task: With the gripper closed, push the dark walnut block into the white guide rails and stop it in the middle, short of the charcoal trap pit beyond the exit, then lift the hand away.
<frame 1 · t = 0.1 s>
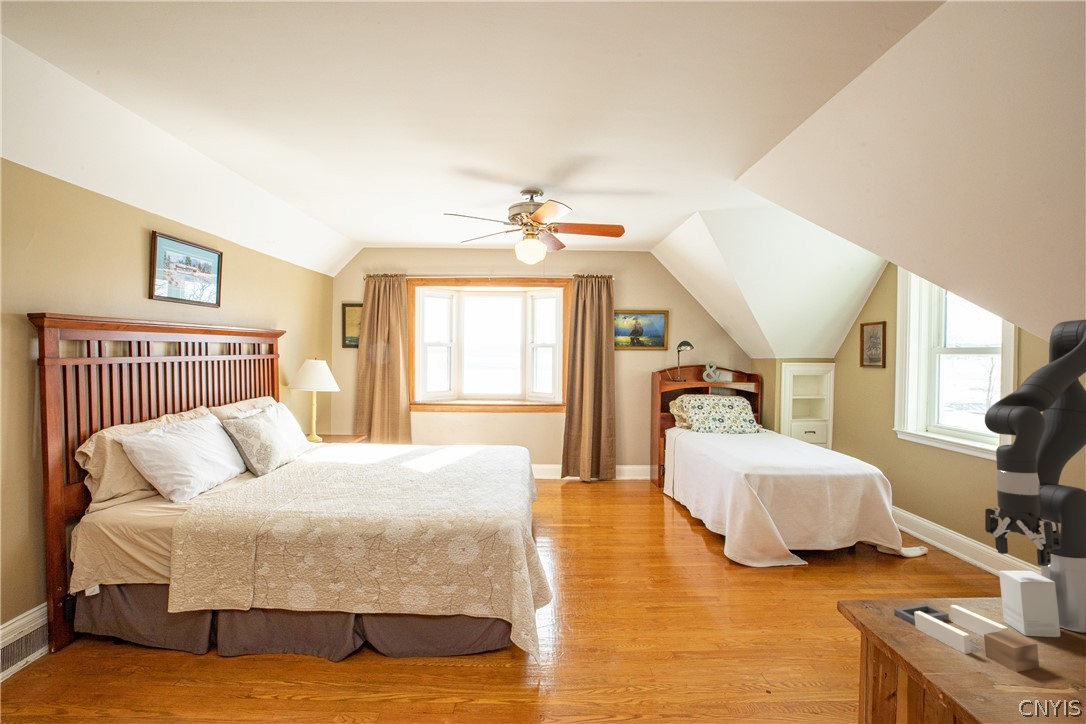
hand: (1022, 559, 119), 17 cm above the table, tool pointing down, fingers open, 8 cm apart
trap pit: (921, 617, 128), on the table
white guide rails: (960, 636, 118), on the table
walnut block: (1012, 662, 108), on the table
supplement box: (1031, 630, 120), on the table
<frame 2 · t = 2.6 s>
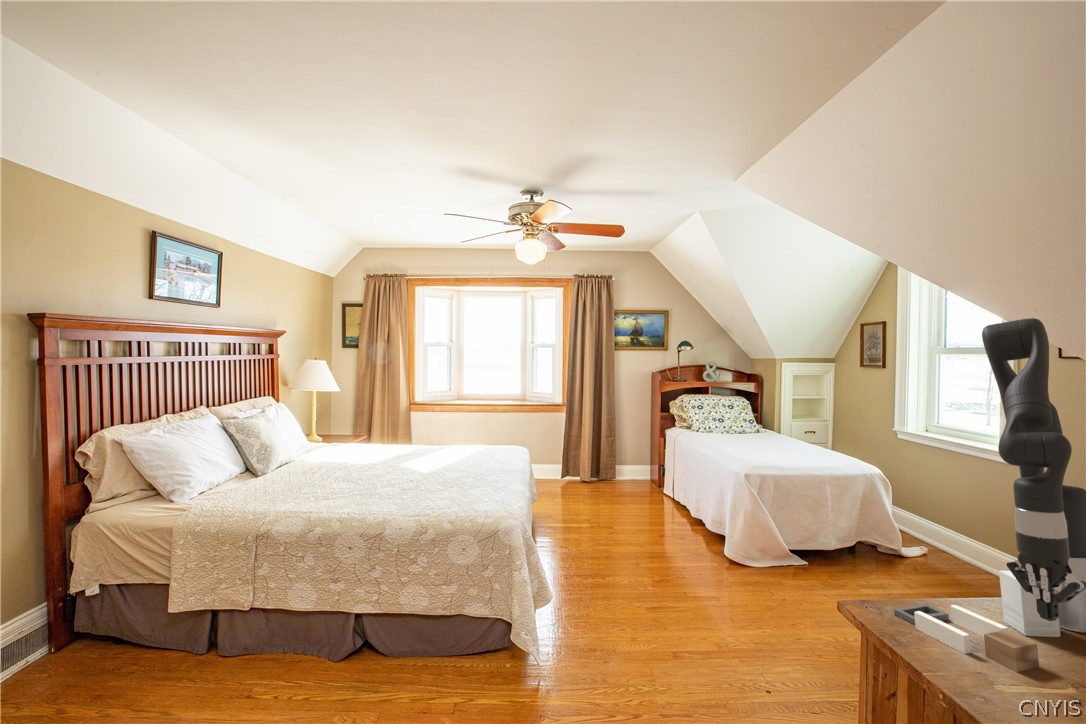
hand: (1048, 618, 100), 13 cm above the table, tool pointing down, fingers closed
nothing on the table moved.
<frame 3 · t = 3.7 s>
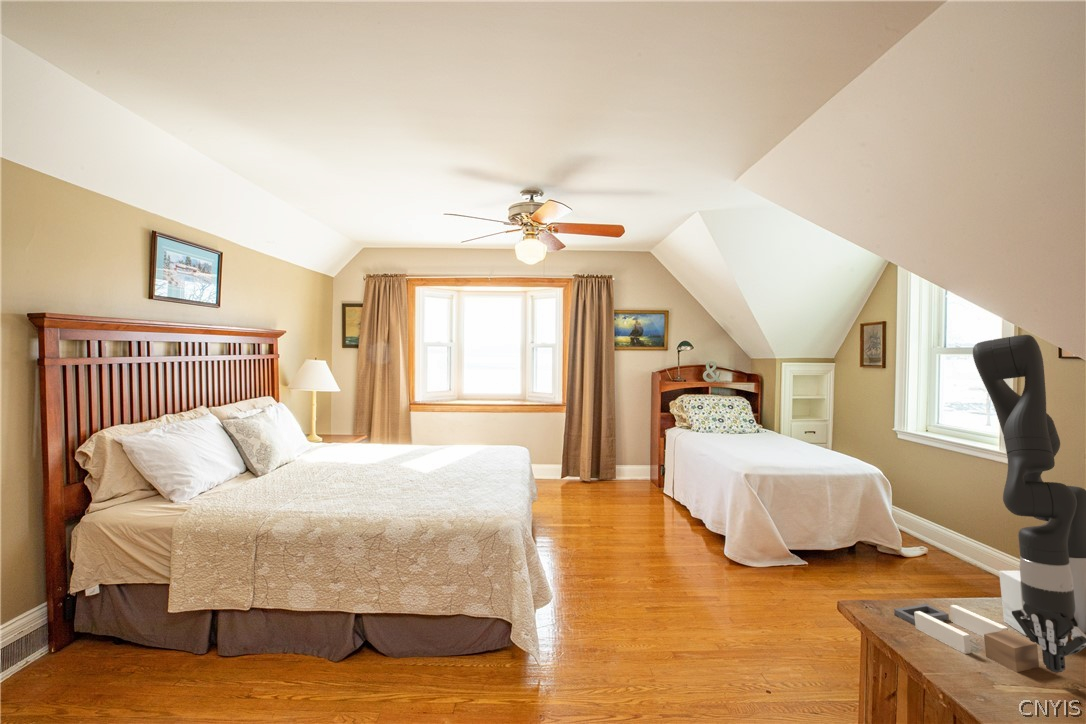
hand: (1054, 670, 100), 3 cm above the table, tool pointing down, fingers closed
nothing on the table moved.
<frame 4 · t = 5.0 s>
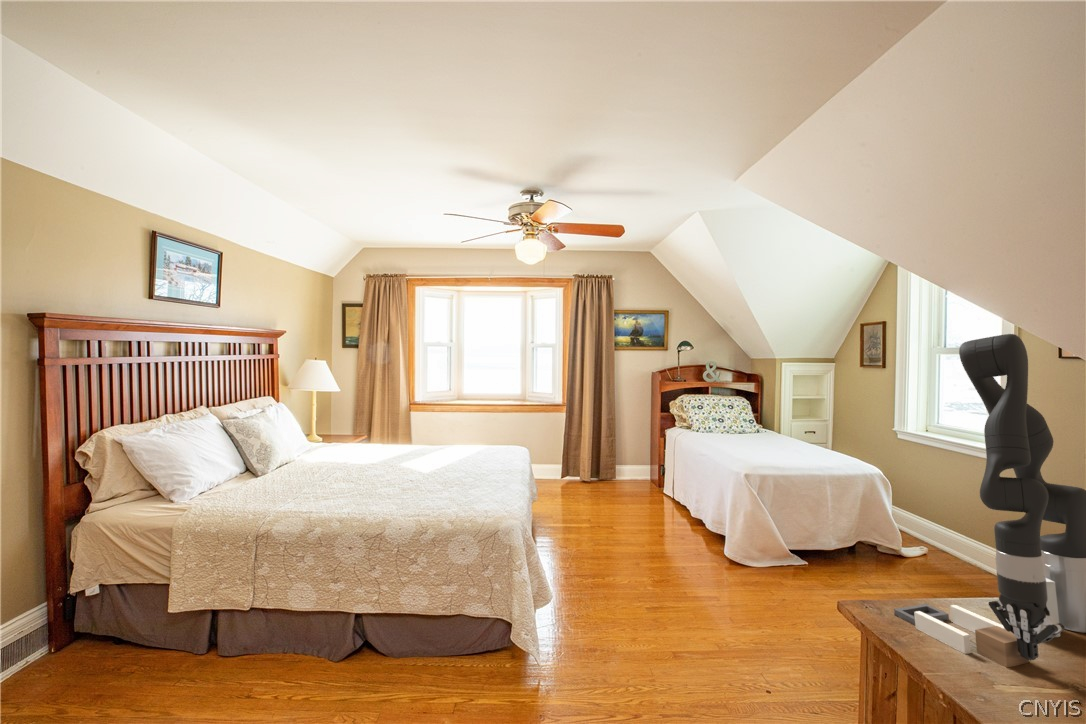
hand: (1028, 657, 104), 3 cm above the table, tool pointing down, fingers closed
walnut block: (1002, 657, 109), on the table, touching gripper
everything else where it was.
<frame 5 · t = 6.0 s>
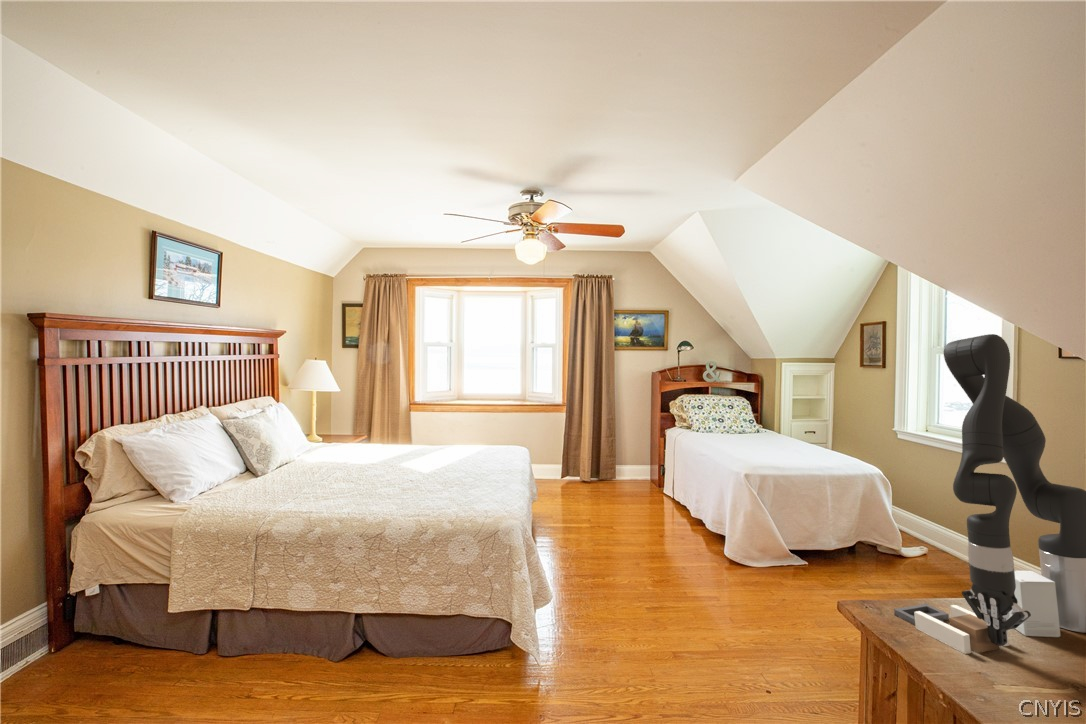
hand: (998, 643, 110), 3 cm above the table, tool pointing down, fingers closed
walnut block: (974, 644, 115), on the table, touching gripper
everything else where it was.
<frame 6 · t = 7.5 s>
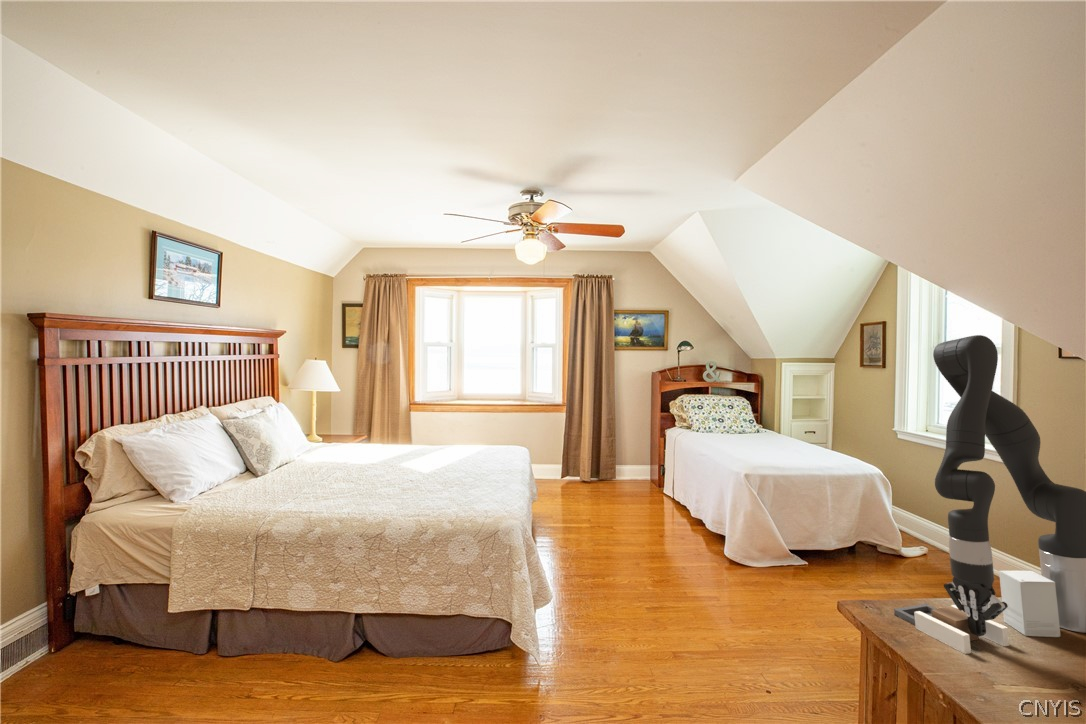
hand: (977, 634, 114), 3 cm above the table, tool pointing down, fingers closed
walnut block: (955, 634, 119), on the table, touching gripper
everything else where it was.
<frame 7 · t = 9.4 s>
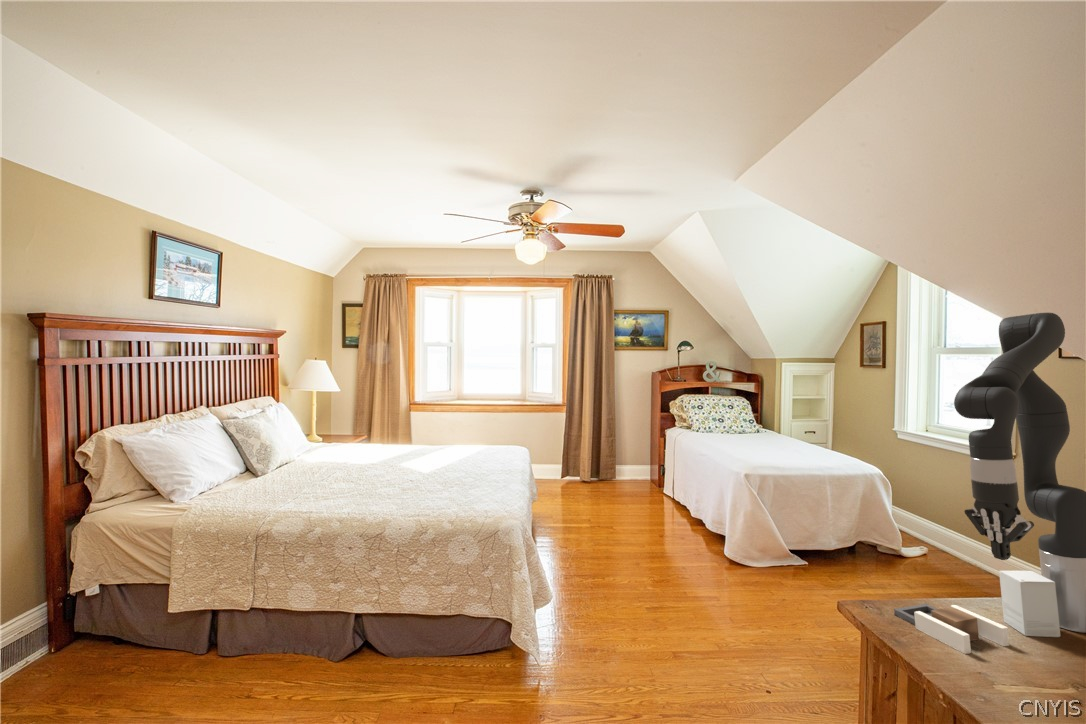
hand: (1001, 558, 109), 22 cm above the table, tool pointing down, fingers closed
walnut block: (955, 635, 119), on the table
everything else where it was.
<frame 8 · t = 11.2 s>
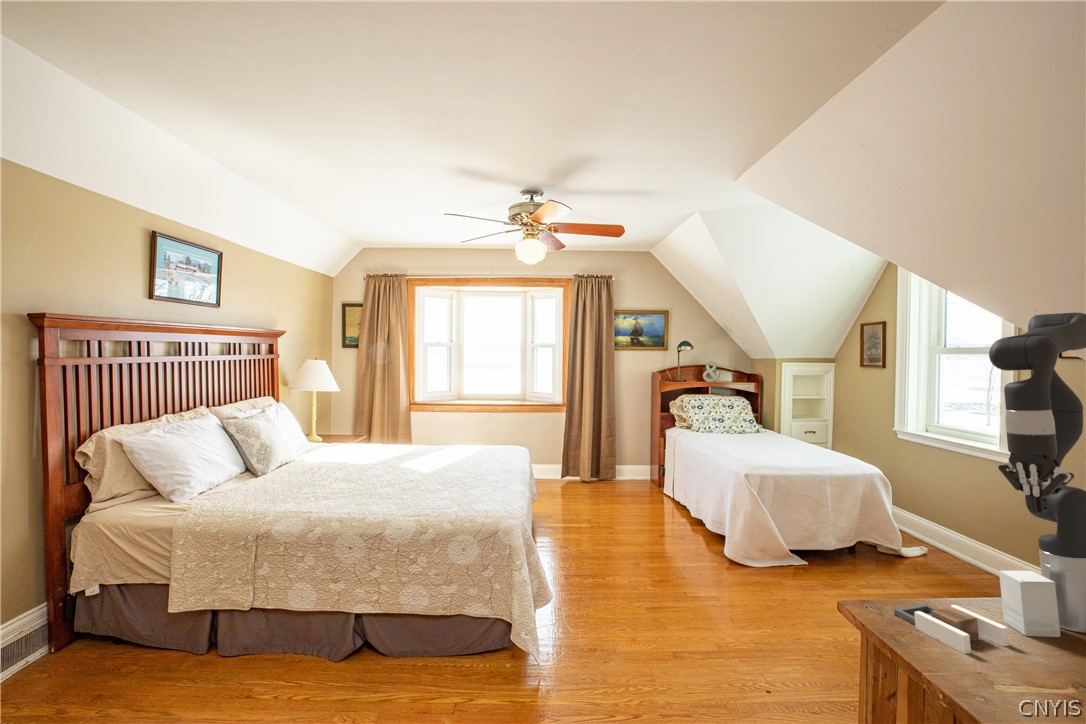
hand: (1037, 513, 106), 32 cm above the table, tool pointing down, fingers closed
nothing on the table moved.
at the end: walnut block inside the target area (1.3 cm from its centre), on the table; walnut block touching table; walnut block tilted 0° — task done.
